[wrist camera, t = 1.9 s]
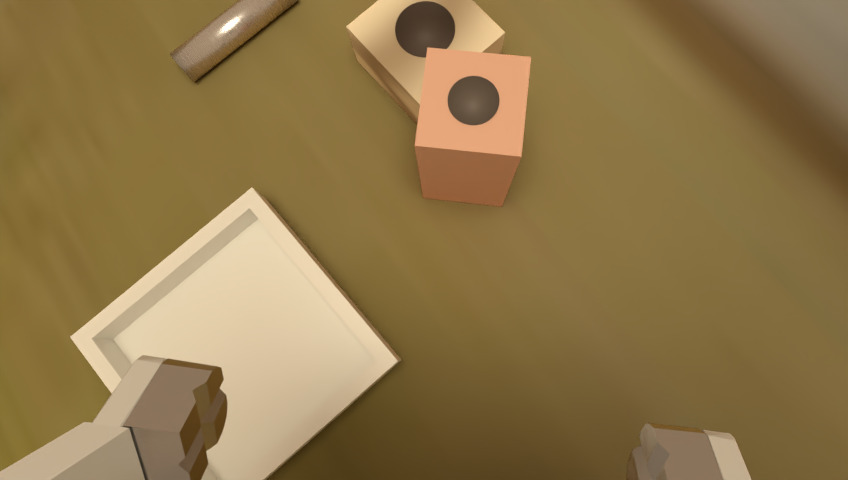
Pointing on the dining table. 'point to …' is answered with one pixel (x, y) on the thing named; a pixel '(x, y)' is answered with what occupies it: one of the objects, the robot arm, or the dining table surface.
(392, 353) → the tray
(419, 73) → the low block
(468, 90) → the tall block
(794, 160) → the dining table surface
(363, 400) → the dining table surface
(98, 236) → the dining table surface
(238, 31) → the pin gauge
